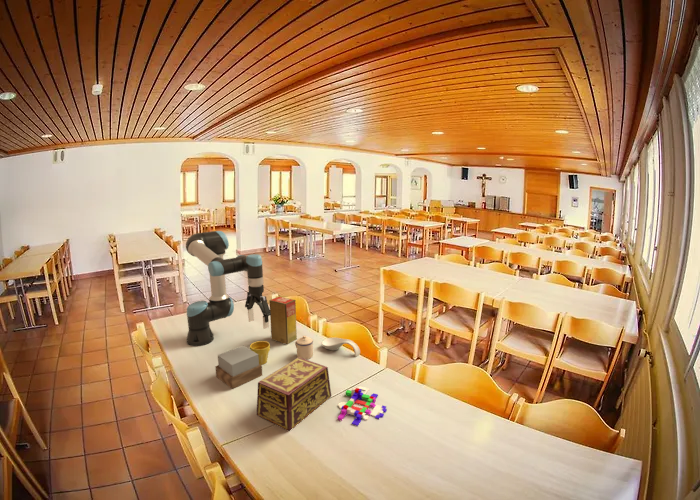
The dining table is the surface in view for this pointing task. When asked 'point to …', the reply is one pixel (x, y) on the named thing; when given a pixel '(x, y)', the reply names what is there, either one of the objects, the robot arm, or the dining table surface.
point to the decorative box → (293, 392)
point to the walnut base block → (238, 376)
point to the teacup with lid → (304, 347)
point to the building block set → (360, 412)
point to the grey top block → (238, 360)
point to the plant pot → (261, 350)
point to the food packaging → (283, 320)
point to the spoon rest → (339, 344)
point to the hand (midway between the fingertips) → (258, 324)
